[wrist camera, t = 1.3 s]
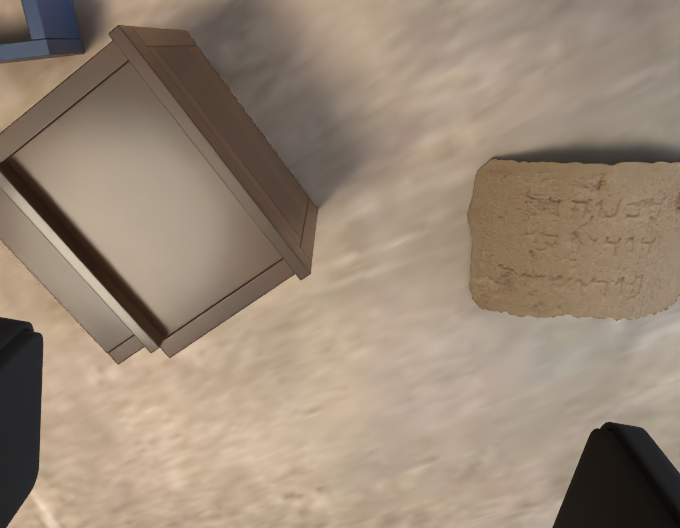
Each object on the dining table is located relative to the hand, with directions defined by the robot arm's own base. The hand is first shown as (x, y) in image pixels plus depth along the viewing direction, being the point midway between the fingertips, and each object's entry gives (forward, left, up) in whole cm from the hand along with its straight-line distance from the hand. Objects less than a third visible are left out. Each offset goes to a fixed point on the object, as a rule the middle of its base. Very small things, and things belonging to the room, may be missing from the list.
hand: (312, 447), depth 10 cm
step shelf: (+1, -11, -29) cm, 31 cm away
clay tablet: (+7, +16, -29) cm, 34 cm away
